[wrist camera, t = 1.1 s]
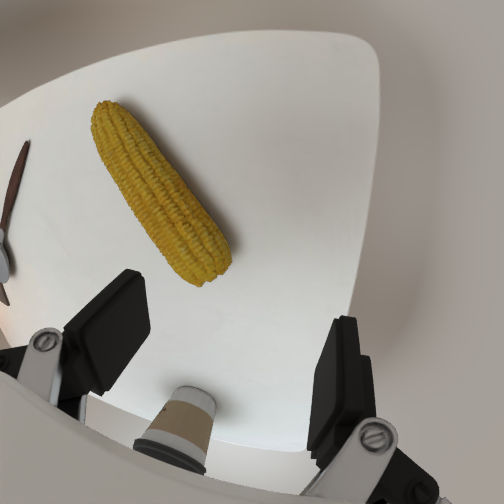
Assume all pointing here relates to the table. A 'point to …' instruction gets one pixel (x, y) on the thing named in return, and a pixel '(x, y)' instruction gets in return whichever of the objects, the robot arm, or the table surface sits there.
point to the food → (159, 197)
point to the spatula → (3, 295)
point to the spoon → (0, 257)
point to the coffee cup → (181, 430)
